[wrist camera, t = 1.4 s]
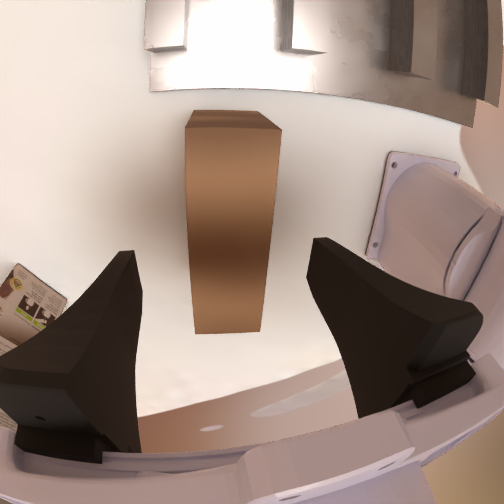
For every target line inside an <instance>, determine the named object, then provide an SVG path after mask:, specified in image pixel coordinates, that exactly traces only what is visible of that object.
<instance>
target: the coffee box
mask: <svg viewBox="0 0 504 504" xmlns="http://www.w3.org/2000/svg"><path fill="white" fill-rule="evenodd" d="M66 302H67V300H66V299H65V298H63V297H62V296H61V295H59V294H58V293H56V292H55V291H54V290H52V289H51V288H49V287H48V286H47V285H45V284H44V283H43V282H41V281H40V280H39V279H38V278H36V277H35V276H34V275H32V274H31V273H30V272H28V271H27V270H26V269H25V268H23V267H22V266H21V265H20V264H17V265H16V266H15V267H14V269H13V270H12V271H11V273H10V274H9V275H8V277H7V278H6V280H5V281H4V283H3V284H2V286H1V287H0V356H1V355H3V354H4V353H6V352H8V351H10V350H12V349H13V348H15V347H17V346H19V345H20V344H22V343H24V342H25V341H27V340H28V339H30V338H31V337H33V336H34V335H36V334H37V333H39V332H40V331H42V330H43V329H44V328H46V327H47V326H48V325H49V324H50V323H52V322H53V321H54V320H55V319H57V318H58V317H59V316H60V315H61V313H62V311H63V309H64V307H65V304H66ZM17 425H18V424H17V423H16V422H14V421H13V420H12V419H11V418H10V417H9V416H8V415H7V414H6V413H5V412H4V411H3V410H2V409H1V408H0V426H2V427H6V428H9V429H11V430H13V431H15V432H16V431H17Z"/></svg>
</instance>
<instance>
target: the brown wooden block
mask: <svg viewBox="0 0 504 504" xmlns="http://www.w3.org/2000/svg"><path fill="white" fill-rule="evenodd" d="M281 135H282V130H281V129H280V128H279V127H278V126H276V125H275V124H274V123H273V122H271V121H270V120H269V119H267V118H266V117H265V116H263V115H262V114H261V113H259V112H258V111H238V110H194V111H193V113H192V115H191V117H190V119H189V121H188V123H187V125H186V127H185V172H186V208H187V231H188V250H189V265H190V280H191V293H192V304H193V316H194V326H195V334H222V333H246V332H260V328H261V319H262V311H263V303H264V294H265V286H266V277H267V269H268V260H269V251H270V242H271V233H272V223H273V214H274V205H275V195H276V185H277V175H278V165H279V155H280V145H281Z"/></svg>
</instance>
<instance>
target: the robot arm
mask: <svg viewBox="0 0 504 504" xmlns="http://www.w3.org/2000/svg"><path fill="white" fill-rule="evenodd" d="M393 162H395V164H394V166H393V167H392V163H393ZM459 171H460V165H459V164H458V163H456V162H452V161H447V160H442V159H437V158H432V157H426V156H420V155H414V154H408V153H401V152H391V153H390V154H389V156H388V160H387V165H386V170H385V176H384V181H383V185H382V190H381V195H380V199H379V204H378V208H377V213H376V217H375V221H374V225H373V229H372V233H371V237H370V241H369V244H368V248H367V252H366V256H367V257H368V259H377V260H378V261H379V262H380V264H381V265H382V266H383V268H384V269H385V270H386V272H387V273H386V272H384V271H382V270H381V269H379V268H377V267H375V266H374V265H372V264H370V263H369V262H367V261H365V260H364V259H362V258H361V257H359V256H357V255H356V254H354V253H353V252H351V251H349V250H348V249H346V248H345V247H343V246H341V245H340V244H338V243H336V242H335V241H333V240H331V239H329V238H327V237H325V238H314V239H313V244H312V250H311V255H310V261H309V266H308V271H307V277H306V278H307V281H308V284H309V287H310V290H311V293H312V295H313V298H314V300H315V302H316V304H317V306H318V308H319V310H320V312H321V314H322V315H323V317H324V319H325V321H326V323H327V325H328V327H329V329H330V331H331V333H332V335H333V337H334V339H335V341H336V343H337V346H338V348H339V351H340V354H341V356H342V359H343V362H344V365H345V368H346V371H347V375H348V378H349V381H350V385H351V388H352V392H353V395H354V400H355V404H356V409H357V413H358V418H359V419H357V420H354V421H350V422H347V423H344V424H340V425H337V426H334V427H330V428H326V429H323V430H319V431H315V432H311V433H307V434H303V435H298V436H294V437H289V438H284V439H281V440H278V441H272V442H267V443H262V444H255V445H249V446H242V447H234V448H227V449H217V450H207V451H195V452H178V453H142V452H141V445H140V438H139V431H138V421H137V409H136V390H135V364H136V353H137V345H138V338H139V331H140V323H141V316H142V294H143V291H142V286H141V282H140V277H139V272H138V268H137V263H136V258H135V252H134V250H131V251H119V252H118V253H117V255H116V256H115V257H114V258H113V259H112V261H111V262H110V263H109V264H108V265H107V267H106V268H105V269H104V270H103V272H102V273H101V274H100V275H99V276H98V278H97V279H96V280H95V281H94V282H93V283H92V284H91V285H90V287H89V288H88V289H87V290H86V291H85V292H84V293H83V294H82V295H81V297H80V298H79V299H78V300H77V301H76V302H75V303H74V304H73V305H71V306H70V307H69V308H68V309H67V310H66V311H65V312H64V313H63V314H62V315H60V316H59V317H58V318H57V319H55V320H54V321H53V322H52V323H50V324H49V325H48V326H47V327H46V328H44V329H43V330H42V331H40V332H39V333H37V334H36V335H34V336H33V337H31V338H30V339H28V340H27V341H25V342H24V343H22V344H20V345H19V346H17V347H15V348H13V349H12V350H10V351H8V352H6V353H4V354H3V355H1V356H0V408H1V409H2V410H3V411H4V412H5V413H6V414H7V415H8V416H9V417H10V418H11V419H12V420H13V421H14V422H16V423H17V424H18V425H17V431H16V432H15V431H13V430H11V429H9V428H6V427H2V426H0V498H2V499H4V500H7V501H9V502H11V503H13V504H437V503H436V500H435V498H434V496H433V493H432V491H431V489H430V486H429V484H428V482H427V480H426V478H425V476H424V473H423V471H422V469H421V468H422V467H423V466H425V465H427V464H429V463H430V462H432V461H434V460H435V459H437V458H439V457H440V456H442V455H444V454H445V453H447V452H448V451H450V450H451V449H453V448H454V447H456V446H457V445H459V444H460V443H462V442H463V441H465V440H466V439H468V438H469V437H470V436H472V435H473V434H475V433H476V432H477V431H479V430H480V429H481V428H483V427H484V426H485V425H487V424H488V423H489V422H490V421H491V420H492V419H494V418H495V417H496V416H497V415H498V414H499V413H500V412H501V411H502V410H503V409H504V209H503V208H501V207H500V206H499V205H497V204H496V203H495V202H493V201H492V200H490V199H489V198H487V197H486V196H485V195H483V194H482V193H480V192H479V191H477V190H476V189H474V188H473V187H471V186H470V185H468V184H466V183H465V182H463V181H462V180H460V179H459V178H458V175H459ZM454 172H455V173H454ZM453 174H454V175H453ZM374 243H376V244H375V245H373V244H374Z"/></svg>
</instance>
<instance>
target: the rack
mask: <svg viewBox="0 0 504 504" xmlns="http://www.w3.org/2000/svg"><path fill="white" fill-rule="evenodd" d="M144 49H145V50H148V51H150V92H152V91H163V90H176V89H194V88H261V89H279V90H293V91H304V92H313V93H322V94H330V95H337V96H344V97H351V98H357V99H363V100H368V101H374V102H379V103H384V104H388V105H393V106H397V107H402V108H406V109H410V110H414V111H418V112H422V113H426V114H429V115H433V116H437V117H440V118H443V119H447V120H450V121H453V122H456V123H459V124H462V125H465V126H468V127H471V128H472V127H473V122H474V116H475V108H476V101H478V102H482V103H485V104H488V105H491V106H494V107H497V108H498V104H499V96H500V86H501V73H502V53H503V26H502V7H501V0H146V9H145V29H144Z"/></svg>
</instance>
